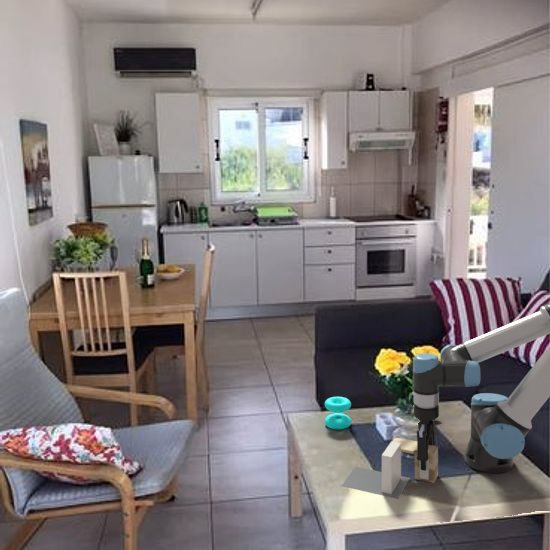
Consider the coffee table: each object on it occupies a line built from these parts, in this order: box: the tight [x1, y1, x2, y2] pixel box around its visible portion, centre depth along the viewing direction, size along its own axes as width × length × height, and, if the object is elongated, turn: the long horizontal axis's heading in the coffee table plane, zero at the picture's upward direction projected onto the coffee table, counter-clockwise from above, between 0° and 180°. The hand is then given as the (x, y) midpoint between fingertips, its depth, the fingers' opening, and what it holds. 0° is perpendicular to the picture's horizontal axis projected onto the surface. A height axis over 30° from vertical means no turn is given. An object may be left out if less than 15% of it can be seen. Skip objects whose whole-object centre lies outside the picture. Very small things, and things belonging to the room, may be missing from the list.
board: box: [340, 466, 411, 500], centre depth 190 cm, size 18×13×1 cm
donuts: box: [324, 396, 352, 431], centre depth 233 cm, size 10×10×10 cm
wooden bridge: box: [392, 437, 439, 484], centre depth 193 cm, size 14×7×10 cm, turn 62°
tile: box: [381, 440, 402, 494], centre depth 187 cm, size 3×10×12 cm, turn 152°
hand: (426, 473), depth 192 cm, fingers closed on wooden bridge, 5 cm apart
